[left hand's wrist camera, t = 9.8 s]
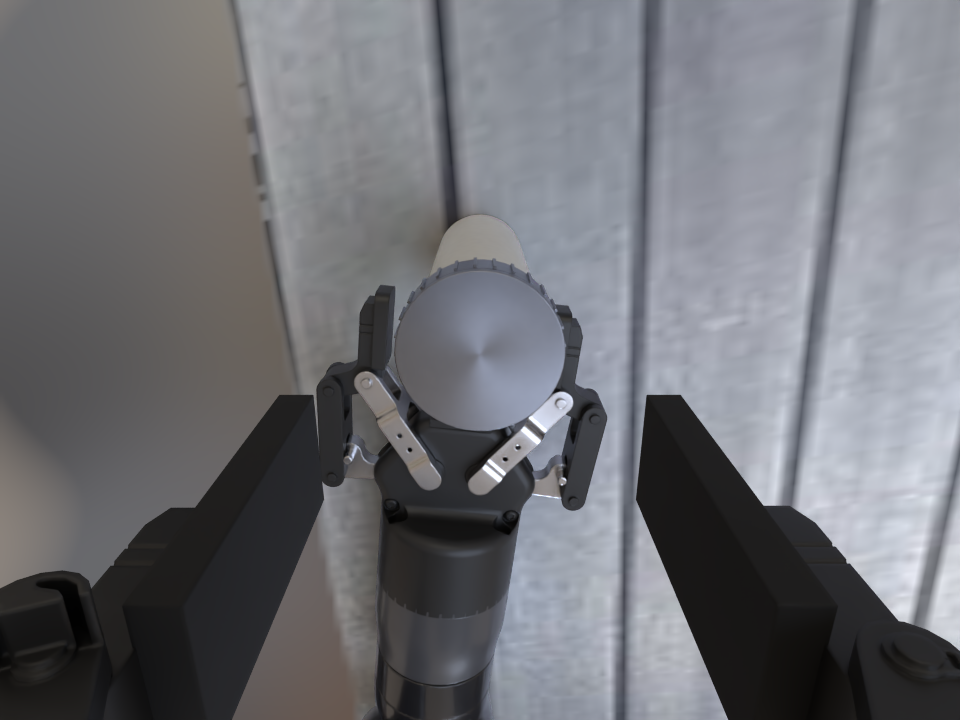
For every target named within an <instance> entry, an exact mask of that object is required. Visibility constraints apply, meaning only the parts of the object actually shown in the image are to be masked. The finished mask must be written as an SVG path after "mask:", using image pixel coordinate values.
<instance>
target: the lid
mask: <svg viewBox="0 0 960 720" xmlns="http://www.w3.org/2000/svg"><path fill="white" fill-rule="evenodd" d="M407 303H408V304H407V307H404V308H403V310H402V312H401V315H400V317H399V320H400V324H399V325H398V328H397V330H396V333H395V336H394V338H396V339H395V352H394V356H395V362H396V367H397V371H398V374H399V377H400V380H401V382H402V384H403V386H404V388H405V390H406V391H407V393H408V394H409V396H410V397H411V398H412V400H413V401H414V402H415V403H416V404H417V405H418V406H419V407H420V408H421V409H422V410H423V411H425V412H426V413H427V414H428V415H430V416H432V417H433V418H435V419H436V420H438V421H440V422H442V423H444V424H447V425H450V426H453V427H455V428H460V429H464V430H473V431H488V430H495V429H500V428H504V427H508V426H510V425H513V424H515V423H518V422H520V421H522V420H523V419H525V418H527V417H529V416H530V415H531V414H533V413H534V412H536V411H537V410H538V409H539V408H540V407H541V406H542V405H543V404H544V403H545V402H546V401H547V399H548V398H549V397H550V396H551V394H552V393H553V391H554V389H555V388H556V386H557V384H558V382H559V379H560V377H561V374H562V371H563V367H564V361H565V347H566V343H565V340H564V334H563V331H562V329H564V326H563V324H562V321H561V319H560V317H559V315H558V316H557V314H556V312H557V308H556V306H555V303H554V301H553V299H551V300H550V299H549V297H548V295H547V294H546V291H545V288H544V286H543V285H542V284H541V285H539V284H538V283H537V282H536V281H535V280H534V279H533V278H532V277H531V275H530V273H529V272H527V274H526V273H525V272H523V271H521V270H520V269H518V268H516V267H515V266H514V264H512V263H511V265H509V264H506V263H503V262H499V261H496V259H495V258H493V260H485V259H477V257H474V260H466V261H461V262H458V260H456V261H455V263H454V264H451V265H449V266H446V267H444V268H442V269H441V267H439V268H438V269H437V272H435V273H434V274H432V275H431V276H430V277H429V278H427V279H426V278H424V279H423V280H422V283H421V285H420V286H419V287H418V288H417V290H416V291H415V292H413V291H412V293H411V295H410V297H409V299H408V302H407Z"/></svg>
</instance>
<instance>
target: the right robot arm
mask: <svg viewBox="0 0 960 720" xmlns="http://www.w3.org/2000/svg"><path fill="white" fill-rule="evenodd" d="M394 303H395V286H386V285H380V286H379V288H378V290H377V291H376V294H375V296H369V297H368V299H367V300H366V302H365V304H364V306H363V308H362V310H361V312H360V323H359V324H360V325H359V346H358V360H356V361H354V362H350V363H346V364H344V363H341V362H336V363H333V364H332V365H331V366H330V367H329V369H328V370H327V372H326V375H325V376H324V378H323V379H322V380H321V381H320V383H319V384H318V386H317V412H318V433H319V455H320V466H321V475H322V482H323V483H324V484H326V485H327V486H330V487H336V486H339V485H341V484H342V482H343V481H344V478H364V479H375V481H376V483H377V484H378V486H379V488H380V491H381V494H382V506H381V522H380V537H379V553H378V568H377V585H376V605H375V612H376V623H377V632H378V639H377V653H376V668H375V683H374V688H375V702H376V706H375V707H373V708H372V709H371V710H370V711H369V712H368V713H367V714H366V715H365V716H364V718H363V719H362V720H494V719H493V713H492V706H491V701H490V697H489V686H490V678H491V671H492V665H493V658H494V652H495V647H496V643H497V640H498V637H499V634H500V631H501V628H502V625H503V620H504V616H505V610H506V603H507V597H508V591H509V584H510V578H511V571H512V565H513V559H514V553H515V546H516V540H517V533H518V527H519V521H520V514H521V510H522V508H523V506H524V504H525V502H526V501H527V500H528V499H529V498H530V497H531V495H532V494H534V495H540V496H547V497H553V498H560V499H561V500H562V504H563V506H564V507H565V508H566V509H568V510H571V511H574V510H578V509H580V508H581V507H582V506H583V505H584V503H585V500H586V496H587V492H588V489H589V485H590V481H591V477H592V474H593V470H594V466H595V463H596V459H597V455H598V452H599V448H600V444H601V440H602V437H603V433H604V429H605V426H606V422H607V415H606V413H605V410H604V408H603V406H602V403H601V401H600V399H599V396H598V394H597V393H596V391H594V390H592V389H584V388H582V387H580V386H578V385H576V384H575V379H576V373H577V367H578V362H579V356H580V350H581V345H582V339H583V336H582V332H581V327H580V325H579V323H578V321H577V319H576V318H572V313H571V311H570V309H569V306H564V305H555V306H556V308H557V312H556V314H557V316H558V315H559V317H560V319H561V321H562V324H563V326H564V329H562V331H563V334H564V340H565V343H566V347H565V361H564V367H563V371H562V374H561V377H560V379H559V382H558V384H557V386H556V388H555V389H554V391H553V393H552V394H551V396H550V397H549V398H548V399H547V401H546V402H545V403H544V404H543V405H542V406H541V407H540V408H539V409H538V410H537V411H536V412H534V413H533V414H531V415H530V416H529V417H527V418H525V419H523V420H522V421H520V422H518V423H515V424H513V425H510V426H508V427H504V428H500V429H495V430H488V431H473V430H464V429H460V428H455V427H453V426H450V425H447V424H444V423H442V422H440V421H438V420H436V419H435V418H433V417H432V416H430V415H428V414H427V413H426V412H425V411H423V410H422V409H421V408H420V407H419V406H418V405H417V404H416V403H415V402H414V401H413V400H412V398H411V397H410V396H409V394H408V393H407V391H406V390H405V388H404V386H403V385H402V384H401V383H400V382H399V380H398V379H397V378H396V376H395V375H394V373H393V372H392V370H391V369H390V367H389V366H388V365H387V364H388V361H389V359H390V356H391V350H392V334H393V319H394ZM357 393H359V394H360V395H361V396H362V398H363V399H364V400H365V402H366V403H367V405H368V406H369V407H370V409H371V410H372V411H373V413H374V414H375V416H376V420H377V424H378V426H379V428H380V429H381V431H382V432H383V433H384V435H385V436H386V437H387V439H388V440H389V442H388V443H387V444H386V445H385V446H384V447H383V449H382V450H381V451H380V452H379V454H378V455H373V454H371V453H369V452H368V451H367V449H366V447H365V443H364V441H363V439H362V438H361V437H360V436H358V435H353V427H352V394H357ZM564 415H568V416H570V417H571V420H570V424H569V428H568V432H567V436H566V440H565V444H564V448H563V452H562V456H560V455H555V456H554V457H553V458H551V459H550V460H549V462H548V464H547V466H546V467H545V468H544V469H542V470H540V471H533V467H532V465H531V463H530V462H529V460H528V458H527V457H526V455H527V454H529V453H530V452H531V451H532V450H533V449H534V448H535V447H536V446H537V445H538V444H539V443H540V442H541V441H542V439H543V437H544V435H545V433H546V432H547V431H548V430H549V429H550V428H551V427H552V426H553V425H554V424H556V423H557V422H558V421H559V420H560V419H561V418H562V417H563V416H564Z"/></svg>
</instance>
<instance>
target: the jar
mask: <svg viewBox="0 0 960 720" xmlns="http://www.w3.org/2000/svg"><path fill="white" fill-rule="evenodd" d="M474 257H477V259H485V260H493V258H495V259H496V261H499V262H503V263H506V264H509V265H511V263H512V264H514V266H515V267H516V268H518V269H520V270H521V271H523V272H525V273H526V274H527V272H529V269H528V266H527V263H526V260H525V257H524V254H523V251H522V248H521V246H520V243H519V240H518V238H517V236H516V234H515V233H514V231H513V230H512V229H511V228H510V227H509V226H508V225H507V224H506V223H504V222H503V221H502V220H500V219H498V218H495V217H493V216H489V215H471V216H467V217H464V218H462V219H460V220H459V221H457V222H455V223H454V224H453V225H452V226H451V227H450V228H449V229H448V230H447V231H446V233H445V234H444V236H443V238H442V240H441V243H440V246H439V249H438V252H437V254H436V257H435V260H434V263H433V266H432V269H431V272H430V275H429V277H430V276H431V275H432V274H434V273H435V272H437V269H438V268H439V267H441V269H442V268H444V267H446V266H449V265H451V264H454V263H455V261H456V260H458V262H461V261H466V260H474ZM529 273H530V272H529Z"/></svg>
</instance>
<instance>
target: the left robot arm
mask: <svg viewBox="0 0 960 720" xmlns="http://www.w3.org/2000/svg"><path fill="white" fill-rule="evenodd" d="M323 501H324V495H323V485H322V475H321V466H320V456H319V446H318V436H317V426H316V417H315V407H314V397H313V395H279V396H278V398H277V399H276V400H275V402H274V403H273V404H272V406H271V407H270V408H269V410H268V411H267V412H266V414H265V415H264V416H263V418H262V419H261V420H260V422H259V423H258V424H257V426H256V427H255V428H254V430H253V431H252V432H251V434H250V435H249V436H248V438H247V439H246V440H245V442H244V443H243V444H242V446H241V447H240V448H239V450H238V451H237V453H236V454H235V455H234V456H233V458H232V459H231V461H230V462H229V463H228V465H227V466H226V467H225V469H224V470H223V471H222V473H221V474H220V475H219V477H218V478H217V479H216V481H215V482H214V483H213V485H212V486H211V487H210V489H209V490H208V491H207V493H206V494H205V495H204V497H203V498H202V499H201V501H200V502H199V503H198V505H197V506H196V507H195V508H170V509H168V510H167V511H165V512H164V513H162V514H161V515H159V516H158V517H156V518H155V519H153V520H152V521H150V522H149V523H147V524H146V525H145V526H144V527H143V528H142V529H141V530H140V532H139V533H138V534H137V535H136V536H135V538H134V539H133V540H132V541H131V542H130V544H129V545H128V549H125V550H124V551H123V552H122V553H121V554H120V555H119V557H118V558H117V559H116V560H115V562H114V566H110V567H109V568H108V570H107V571H106V572H105V573H104V574H103V576H102V577H101V578H100V579H99V580H98V582H97V583H96V584H95V585H94V586H93V587H92V589H91V587H90V583H89V581H88V580H87V579H86V578H85V577H83V576H82V575H81V574H79V573H74V572H68V571H54V572H45V573H39V574H36V575H33V576H29V577H26V578H23V579H20V580H17V581H15V582H13V583H11V584H9V585H6V586H4V587H2V588H0V720H232V718H233V715H234V713H235V711H236V708H237V706H238V703H239V701H240V699H241V696H242V694H243V691H244V689H245V687H246V684H247V682H248V680H249V677H250V675H251V672H252V670H253V668H254V665H255V663H256V660H257V658H258V656H259V653H260V651H261V649H262V646H263V644H264V641H265V639H266V637H267V634H268V632H269V629H270V627H271V625H272V622H273V620H274V618H275V615H276V613H277V610H278V608H279V606H280V603H281V601H282V598H283V596H284V594H285V591H286V589H287V586H288V584H289V582H290V579H291V577H292V575H293V572H294V570H295V567H296V565H297V563H298V560H299V558H300V555H301V553H302V551H303V548H304V546H305V544H306V541H307V539H308V536H309V534H310V531H311V529H312V527H313V524H314V522H315V520H316V517H317V515H318V512H319V510H320V508H321V505H322V503H323ZM636 501H637V503H638V505H639V508H640V510H641V512H642V515H643V517H644V520H645V522H646V524H647V527H648V529H649V532H650V534H651V536H652V539H653V541H654V544H655V546H656V548H657V551H658V553H659V555H660V558H661V560H662V563H663V565H664V567H665V570H666V572H667V575H668V577H669V579H670V582H671V584H672V586H673V589H674V591H675V594H676V596H677V598H678V601H679V603H680V606H681V608H682V610H683V613H684V615H685V618H686V620H687V622H688V625H689V627H690V629H691V632H692V634H693V637H694V639H695V641H696V644H697V646H698V649H699V651H700V653H701V656H702V658H703V660H704V663H705V665H706V668H707V670H708V672H709V675H710V677H711V680H712V682H713V684H714V687H715V689H716V692H717V694H718V696H719V699H720V701H721V703H722V706H723V708H724V711H725V713H726V715H727V718H728V720H960V651H959V650H958V649H957V648H956V647H954V646H953V645H952V644H951V643H950V642H948V641H946V640H944V639H943V638H941V637H939V636H937V635H935V634H934V633H932V632H930V631H928V630H926V629H923V628H920V627H917V626H914V625H911V624H909V623H906V622H900V621H898V620H897V619H896V618H895V616H894V615H893V614H892V613H891V612H890V611H889V609H888V608H887V607H886V606H885V605H884V603H883V602H882V601H881V600H880V599H879V598H878V596H877V595H876V594H875V593H874V592H873V590H872V589H871V588H870V587H869V586H868V585H867V583H866V582H865V581H864V580H863V579H862V577H861V576H860V575H859V574H858V573H857V572H856V570H855V569H854V568H853V567H852V566H851V564H847V563H846V559H845V557H844V556H843V555H842V554H841V553H840V551H839V550H838V549H837V548H836V547H833V546H832V542H831V541H830V540H829V538H828V537H827V536H826V535H825V534H824V533H823V531H822V530H821V529H820V528H819V527H818V525H817V524H816V523H815V522H813V521H812V520H810V519H809V518H807V517H806V516H804V515H803V514H801V513H800V512H798V511H796V510H795V509H793V508H792V507H790V506H763V505H762V503H761V502H760V501H759V499H758V498H757V497H756V495H755V494H754V493H753V491H752V490H751V489H750V487H749V486H748V485H747V483H746V482H745V481H744V479H743V478H742V477H741V475H740V474H739V472H738V471H737V470H736V468H735V467H734V466H733V464H732V463H731V462H730V460H729V459H728V458H727V456H726V455H725V454H724V452H723V451H722V450H721V448H720V447H719V446H718V444H717V443H716V442H715V440H714V439H713V438H712V436H711V435H710V434H709V432H708V431H707V430H706V428H705V427H704V426H703V424H702V423H701V422H700V420H699V419H698V418H697V416H696V415H695V414H694V412H693V411H692V410H691V408H690V407H689V406H688V404H687V403H686V402H685V400H684V399H683V398H682V396H681V395H647V397H646V407H645V417H644V426H643V436H642V446H641V456H640V466H639V475H638V485H637V495H636Z"/></svg>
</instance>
